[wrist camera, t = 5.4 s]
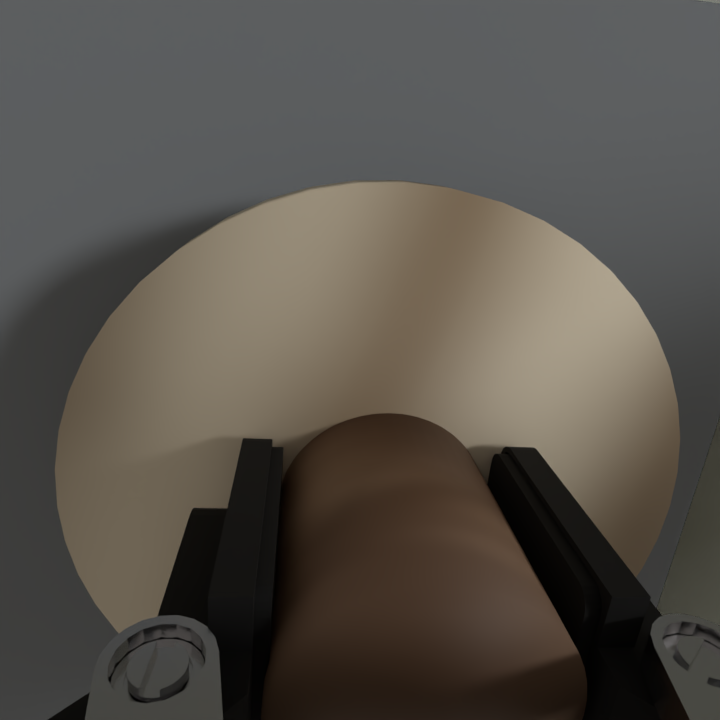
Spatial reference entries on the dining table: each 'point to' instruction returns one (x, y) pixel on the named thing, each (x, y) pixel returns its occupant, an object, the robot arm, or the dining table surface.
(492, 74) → the mat
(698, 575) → the dining table surface
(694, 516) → the dining table surface
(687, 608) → the dining table surface
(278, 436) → the lid
